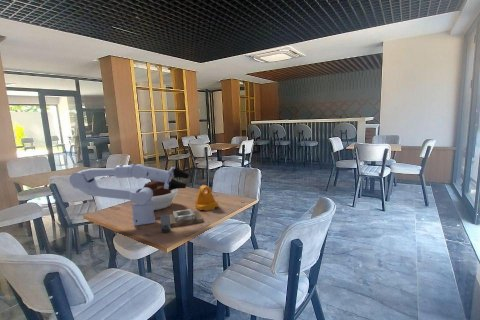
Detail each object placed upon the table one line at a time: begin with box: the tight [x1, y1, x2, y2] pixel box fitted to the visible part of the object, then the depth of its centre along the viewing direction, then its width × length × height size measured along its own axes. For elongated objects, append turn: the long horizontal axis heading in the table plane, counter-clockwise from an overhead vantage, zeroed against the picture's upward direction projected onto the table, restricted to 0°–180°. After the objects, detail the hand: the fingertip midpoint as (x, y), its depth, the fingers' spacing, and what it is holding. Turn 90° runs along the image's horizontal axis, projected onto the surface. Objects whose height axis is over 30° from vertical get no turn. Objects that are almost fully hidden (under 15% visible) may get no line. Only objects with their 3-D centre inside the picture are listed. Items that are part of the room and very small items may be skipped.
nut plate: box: [169, 208, 204, 228], centre depth 123 cm, size 16×12×4 cm
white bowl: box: [142, 180, 179, 211], centre depth 143 cm, size 25×25×15 cm
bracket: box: [194, 184, 219, 211], centre depth 139 cm, size 11×7×12 cm, turn 119°
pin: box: [159, 213, 172, 234], centre depth 111 cm, size 4×4×7 cm
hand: (187, 181), depth 123 cm, fingers open, 7 cm apart
